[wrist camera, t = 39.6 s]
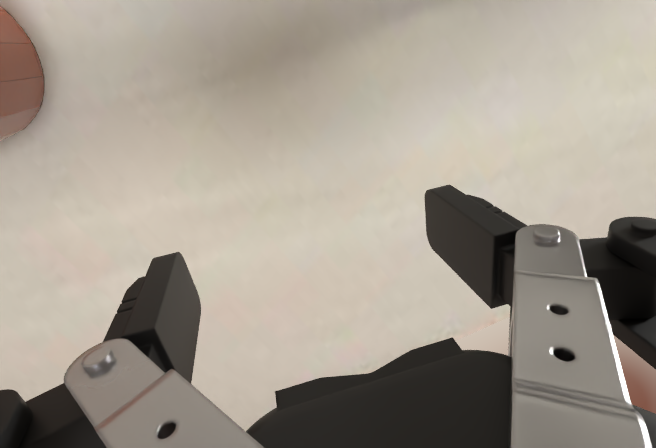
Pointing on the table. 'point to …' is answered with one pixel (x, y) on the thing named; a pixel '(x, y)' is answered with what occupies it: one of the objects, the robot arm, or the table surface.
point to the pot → (17, 78)
